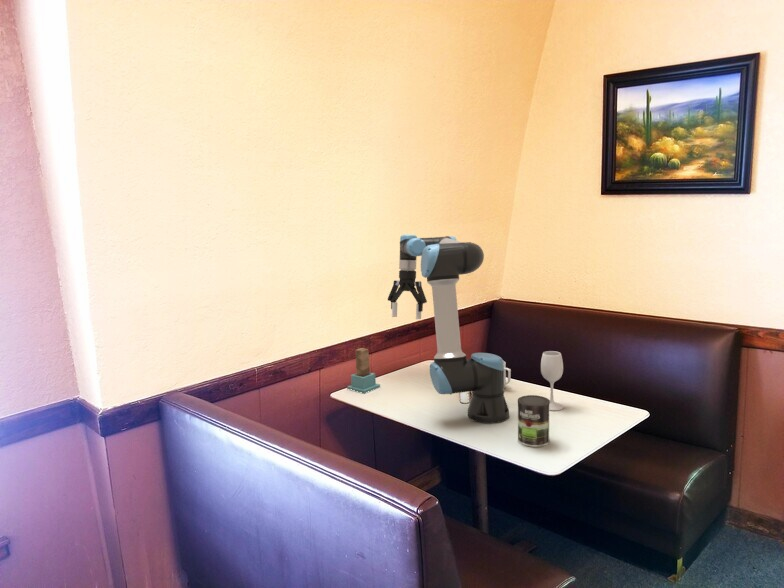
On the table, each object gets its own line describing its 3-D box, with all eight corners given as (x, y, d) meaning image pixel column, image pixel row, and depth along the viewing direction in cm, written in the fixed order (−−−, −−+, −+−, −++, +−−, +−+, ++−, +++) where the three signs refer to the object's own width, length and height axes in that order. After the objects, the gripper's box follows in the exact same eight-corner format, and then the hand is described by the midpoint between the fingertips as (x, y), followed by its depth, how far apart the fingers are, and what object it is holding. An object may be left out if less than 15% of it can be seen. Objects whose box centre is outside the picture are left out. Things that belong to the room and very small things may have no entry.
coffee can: (544, 449, 192) (544, 407, 190) (513, 443, 198) (512, 402, 195) (553, 437, 201) (553, 397, 199) (523, 432, 206) (523, 393, 204)
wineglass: (539, 402, 234) (539, 350, 231) (562, 403, 232) (563, 350, 229) (540, 410, 226) (540, 356, 222) (564, 411, 224) (564, 356, 220)
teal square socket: (380, 387, 260) (379, 373, 259) (364, 393, 253) (363, 379, 252) (363, 383, 267) (362, 369, 266) (347, 389, 260) (346, 375, 258)
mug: (480, 388, 253) (479, 363, 251) (492, 383, 259) (492, 358, 257) (503, 394, 245) (503, 368, 243) (516, 389, 251) (516, 363, 249)
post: (370, 385, 260) (368, 349, 257) (363, 387, 257) (362, 351, 254) (363, 383, 263) (361, 347, 260) (357, 385, 260) (355, 350, 257)
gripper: (435, 270, 261) (434, 319, 261) (391, 269, 276) (390, 315, 277) (425, 270, 255) (423, 320, 256) (380, 269, 271) (379, 316, 272)
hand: (406, 318), depth 266 cm, fingers open, 13 cm apart
